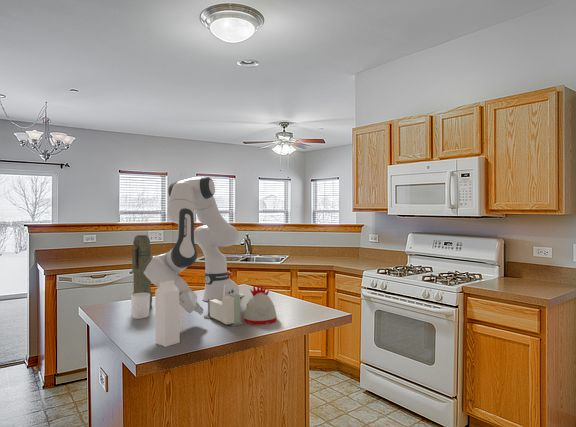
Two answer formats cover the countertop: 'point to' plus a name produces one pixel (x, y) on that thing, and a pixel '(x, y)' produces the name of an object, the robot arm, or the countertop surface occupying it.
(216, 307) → the cream l-shaped block
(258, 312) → the kitchen timer
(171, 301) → the milk
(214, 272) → the robot arm
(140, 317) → the white cup
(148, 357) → the countertop surface
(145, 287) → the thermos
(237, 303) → the latch post
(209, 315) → the hinge post
